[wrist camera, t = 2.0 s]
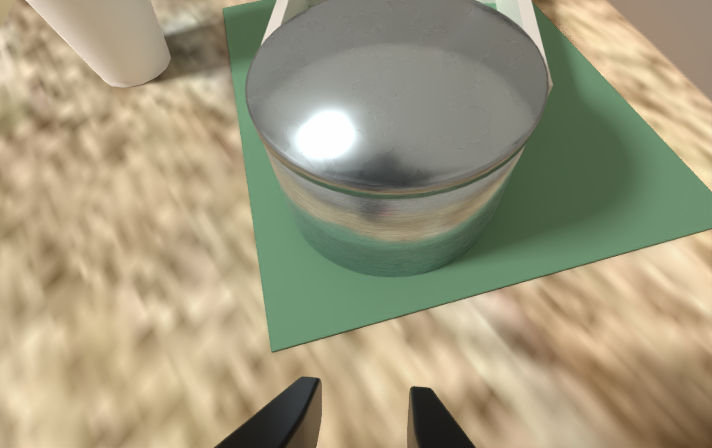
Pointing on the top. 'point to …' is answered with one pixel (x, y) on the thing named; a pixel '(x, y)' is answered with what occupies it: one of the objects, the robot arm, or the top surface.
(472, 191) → the chrome metal canister
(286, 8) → the beige thin-walled piece
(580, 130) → the green mat
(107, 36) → the foam cup
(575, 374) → the top surface
